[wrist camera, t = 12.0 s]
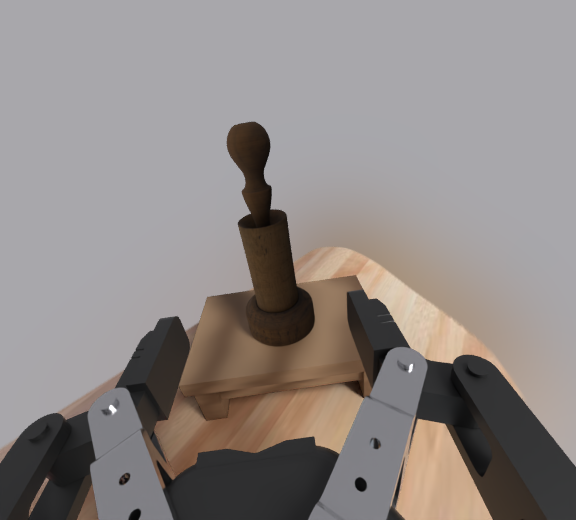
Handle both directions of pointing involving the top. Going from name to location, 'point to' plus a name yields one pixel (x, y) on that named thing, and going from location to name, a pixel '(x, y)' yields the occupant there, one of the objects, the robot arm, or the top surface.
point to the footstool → (270, 350)
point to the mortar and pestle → (268, 248)
